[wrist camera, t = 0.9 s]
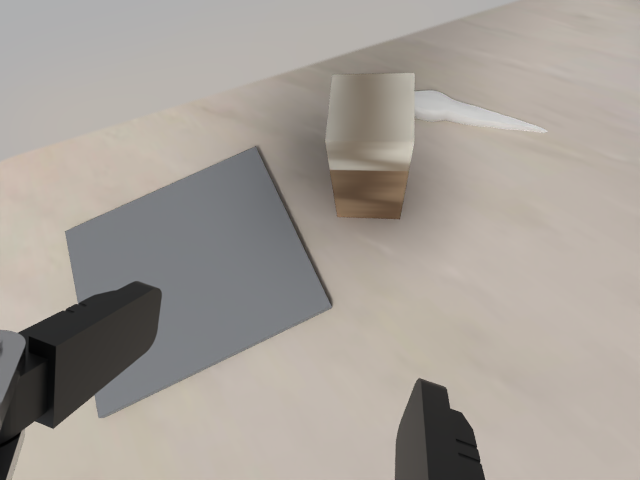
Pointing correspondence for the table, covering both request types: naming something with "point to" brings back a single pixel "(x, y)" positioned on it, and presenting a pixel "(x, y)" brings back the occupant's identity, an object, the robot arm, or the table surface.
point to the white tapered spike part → (464, 113)
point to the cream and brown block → (370, 142)
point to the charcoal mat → (199, 271)
